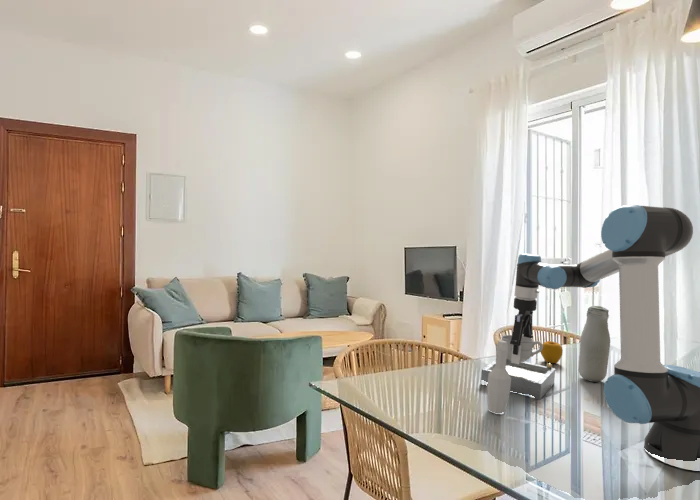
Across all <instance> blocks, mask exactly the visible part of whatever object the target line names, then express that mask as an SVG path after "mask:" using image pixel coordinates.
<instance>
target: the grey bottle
mask: <svg viewBox="0 0 700 500" xmlns="http://www.w3.org/2000/svg"><path fill="white" fill-rule="evenodd" d="M609 311H610V310H609V309H607V308H606V307H603V306H600V305H591V306H589V307H588V308H587V311H586V321H585V324H584V326H583V329H582V331H581V335H580V342H579V355H578V356H579V357H578V373H579V376H580V377H581V378H583V379H585V380H587V381H589V382H602V381H604V379H605V378H606V377H607V373H608V366H609V359H610V358H609V357H610V349H611V337H610V335H611V334H610V331H609V323H608V322H609V321H608V320H609V317H610V315H609Z"/></svg>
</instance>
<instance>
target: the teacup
mask: <svg viewBox="0 0 700 500" xmlns="http://www.w3.org/2000/svg"><path fill="white" fill-rule="evenodd" d="M511 338H512V334H504V335H501V340H503V341H506V342H507V345H508V354H507V359H508V360H511V355H512V345H513V344H510V342H511ZM542 344H543V343H542V342H541V341H539V340H534V339H533V338H528V337H524V336H523V335H522V339H521V343H520V345H521V352H520V362H527V360H529V359H530V358H532V357H534V355H537V354H540V353H541V351H542V349H543V345H542ZM535 345H539V348H538V349H537V350H536V351H535V350H534V351H533V349H534V348H535Z"/></svg>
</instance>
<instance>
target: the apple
mask: <svg viewBox="0 0 700 500" xmlns="http://www.w3.org/2000/svg"><path fill="white" fill-rule="evenodd" d="M542 345H543V349H542V351H541V352H540V354H541V356H542V358H543V359H544V360H545V362H546V363H548V362H549V363H556V364H557V363H559V362H560V360H561V358H562V357H563V346H562V345H561V344H560V343H558V342H556V341H549V340H547V341H544V342H543V343H542Z"/></svg>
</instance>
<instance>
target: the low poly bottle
mask: <svg viewBox="0 0 700 500" xmlns="http://www.w3.org/2000/svg"><path fill="white" fill-rule="evenodd" d="M507 354H508V345H507V342H506V341H503V340H502V339H500V340H498V341H497V343H496V346H495V360H496V363H495V368H494V369H493V370H492V371H491V372H490V373H489V374H488V384H487V386H486V387H487V388H486V391H487V392H486V393H487V407H488V408H487V409H489V410H490V411H492V412H495V413H502V412H504V411H505V412H506V409H507V405H508V402H509V398H510V393H511V392H510V386H511V377H510V375H509V374H508V372H507V370H506V359H507ZM489 410H488V411H489Z"/></svg>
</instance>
